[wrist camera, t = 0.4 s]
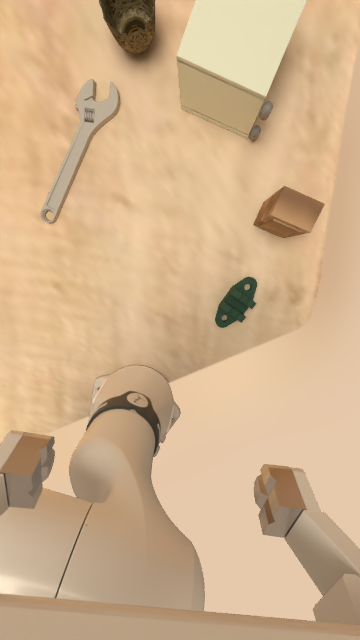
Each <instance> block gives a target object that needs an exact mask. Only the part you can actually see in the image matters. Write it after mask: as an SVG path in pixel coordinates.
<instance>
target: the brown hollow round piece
mask: <svg viewBox="0 0 360 640" xmlns="http://www.w3.org/2000/svg"><path fill="white" fill-rule="evenodd" d="M99 3H100V6H101V8H102V11H103V16H104V17H103V18H104V20H105V21H106V23H107V25H108V27H109V29H110V31H111V32H112V34H113V36H114V38H115V39H116V41H117V42H118V43H119V45H120V46H121V47H122V48H123V49H125V50H126V51H128V52H131V53H134V54H141V53H143V52H144V51H145V50H146V49H147V47H148V46H149V45H150V43H151V41H152V39H153V36H154V31H155V0H99Z"/></svg>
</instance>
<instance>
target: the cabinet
mask: <svg viewBox="0 0 360 640" xmlns="http://www.w3.org/2000/svg"><path fill="white" fill-rule="evenodd" d="M306 1H307V0H196V1H195V4H194V7H193V10H192V13H191V16H190V18H189V21H188V24H187V27H186V30H185V33H184V36H183V39H182V42H181V44H180V47H179V50H178V53H177V65H178V77H179V88H180V100H181V109H183V110H185V111H187V112H189V113H192V114H194V115H196V116H198V117H200V118H203V119H205V120H207V121H209V122H211V123H214V124H216V125H218V126H220V127H223V128H225V129H227V130H229V131H231V132H234V133H236V134H238V135H240V136H242V137H245V138H247V137H248V135H249V133H250V131H251V129H252V126H253V124H254V122H255V120H256V118H257V115H258V113H259V111H260V109H261V107H262V104H263V102H264V100H265V98H266V95H267V93H268V91H269V88H270V86H271V84H272V81H273V79H274V76H275V74H276V72H277V69H278V67H279V65H280V62H281V60H282V58H283V55H284V53H285V50H286V48H287V46H288V43H289V41H290V39H291V36H292V34H293V31H294V29H295V27H296V24H297V22H298V20H299V17H300V15H301V12H302V10H303V8H304V5H305V3H306ZM272 108H273V104H272V103H271V102H270V101H268V102H266V103H265V104H264V106H263V108H262V110H261V112H260V115H259V117H260V119H261V120H266V119H267V118H268V116H269V114H270V112H271V110H272ZM260 131H261V128H260V126H258V125H256V126H254V127H253V130H252V132H251V134H250V139H251V140H255V139H256V138H257V137H258V135H259V133H260Z"/></svg>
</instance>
